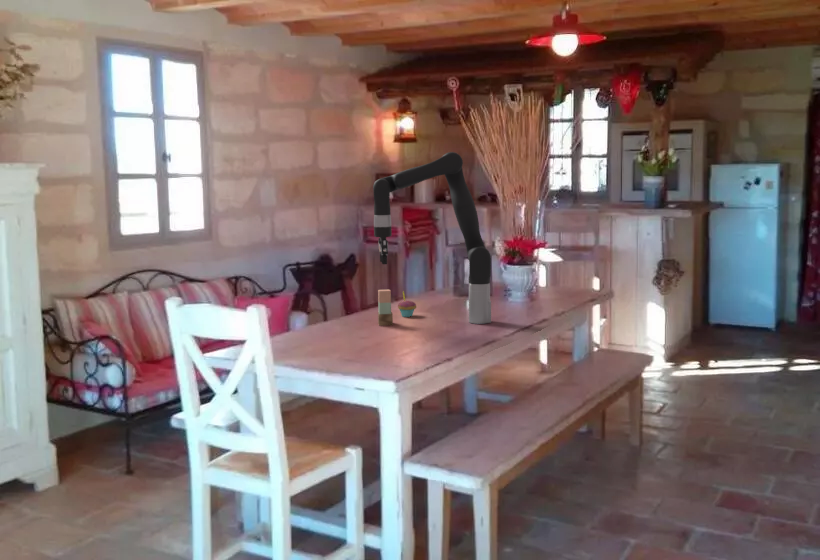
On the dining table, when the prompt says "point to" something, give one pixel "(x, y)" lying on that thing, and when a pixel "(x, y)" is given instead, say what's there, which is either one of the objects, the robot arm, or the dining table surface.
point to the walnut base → (385, 319)
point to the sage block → (384, 308)
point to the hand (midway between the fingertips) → (383, 263)
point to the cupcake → (406, 307)
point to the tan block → (384, 296)
